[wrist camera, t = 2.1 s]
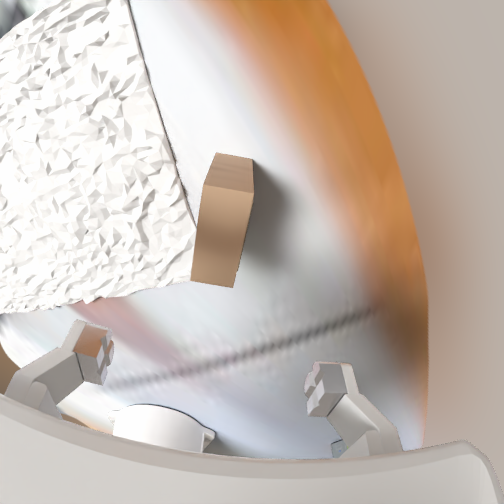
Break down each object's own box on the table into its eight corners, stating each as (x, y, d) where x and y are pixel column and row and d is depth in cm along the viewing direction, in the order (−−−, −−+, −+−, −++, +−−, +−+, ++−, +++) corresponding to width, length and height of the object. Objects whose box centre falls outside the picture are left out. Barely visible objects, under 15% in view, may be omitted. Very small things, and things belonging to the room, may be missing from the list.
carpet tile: (123, -30, 17) (114, -37, 15) (214, 272, 32) (213, 284, 30) (-93, 143, 21) (-102, 148, 19) (-15, 314, 36) (-21, 323, 34)
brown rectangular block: (238, 233, 29) (235, 288, 22) (203, 227, 29) (190, 280, 22) (254, 159, 25) (256, 194, 19) (216, 152, 25) (203, 184, 18)
